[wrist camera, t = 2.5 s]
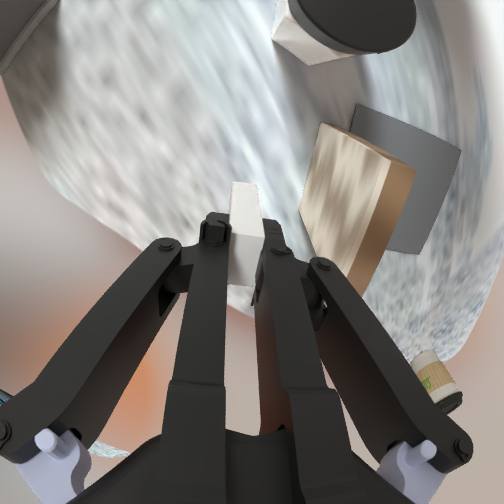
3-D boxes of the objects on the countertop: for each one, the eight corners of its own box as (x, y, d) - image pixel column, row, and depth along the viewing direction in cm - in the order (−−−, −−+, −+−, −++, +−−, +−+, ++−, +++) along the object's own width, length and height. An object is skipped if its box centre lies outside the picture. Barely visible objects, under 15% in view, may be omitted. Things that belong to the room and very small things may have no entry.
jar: (347, 75, 22) (411, 76, 12) (266, 58, 22) (284, 38, 12) (357, 3, 17) (420, -28, 8) (277, -17, 17) (300, -72, 7)
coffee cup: (397, 366, 52) (417, 423, 39) (431, 340, 47) (458, 397, 35) (414, 373, 55) (433, 423, 43) (445, 349, 51) (469, 400, 38)
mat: (356, 104, 24) (357, 104, 24) (460, 149, 26) (461, 150, 26) (318, 236, 33) (318, 238, 32) (418, 253, 35) (419, 254, 34)
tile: (320, 122, 25) (384, 159, 14) (343, 128, 26) (416, 170, 14) (298, 209, 31) (331, 295, 19) (319, 213, 31) (361, 297, 19)
